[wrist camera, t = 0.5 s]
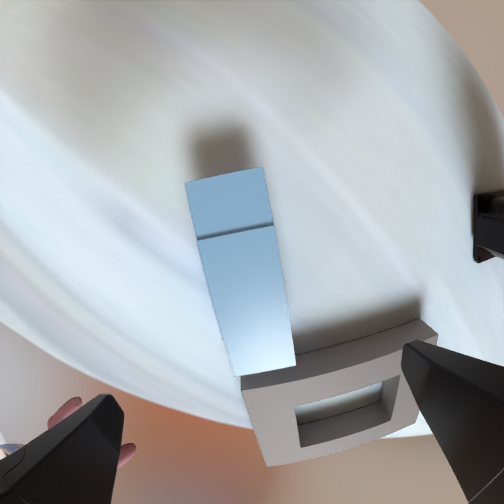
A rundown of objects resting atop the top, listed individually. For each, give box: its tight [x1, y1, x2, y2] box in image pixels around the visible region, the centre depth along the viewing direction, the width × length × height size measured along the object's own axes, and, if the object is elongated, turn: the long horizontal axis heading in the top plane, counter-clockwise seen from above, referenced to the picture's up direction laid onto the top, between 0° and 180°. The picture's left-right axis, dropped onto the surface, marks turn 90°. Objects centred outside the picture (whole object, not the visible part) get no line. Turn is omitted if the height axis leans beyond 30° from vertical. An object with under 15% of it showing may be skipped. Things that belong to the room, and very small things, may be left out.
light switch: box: [241, 319, 438, 467], centre depth 20 cm, size 16×12×3 cm
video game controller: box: [48, 397, 136, 469], centre depth 20 cm, size 10×5×7 cm, turn 33°
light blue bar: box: [185, 167, 296, 377], centre depth 16 cm, size 4×12×4 cm, turn 11°
